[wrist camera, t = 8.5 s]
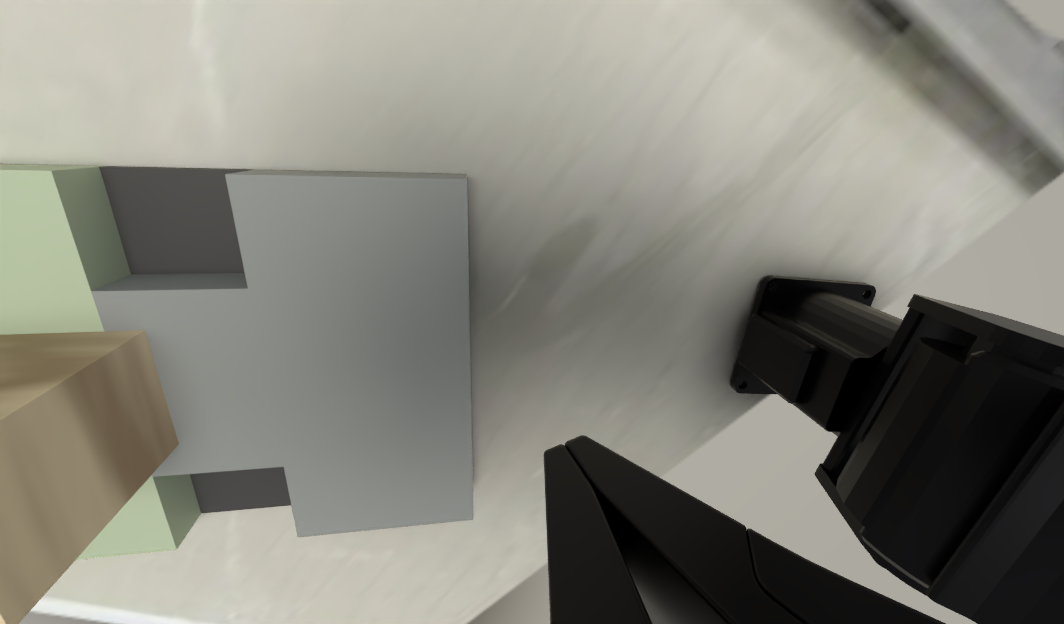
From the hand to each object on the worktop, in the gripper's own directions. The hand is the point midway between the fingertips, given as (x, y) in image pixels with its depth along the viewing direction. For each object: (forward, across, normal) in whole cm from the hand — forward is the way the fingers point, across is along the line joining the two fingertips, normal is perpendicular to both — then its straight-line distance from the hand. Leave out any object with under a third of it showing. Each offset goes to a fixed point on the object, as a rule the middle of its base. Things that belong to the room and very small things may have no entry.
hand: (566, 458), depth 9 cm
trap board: (+14, +10, +2) cm, 17 cm away
